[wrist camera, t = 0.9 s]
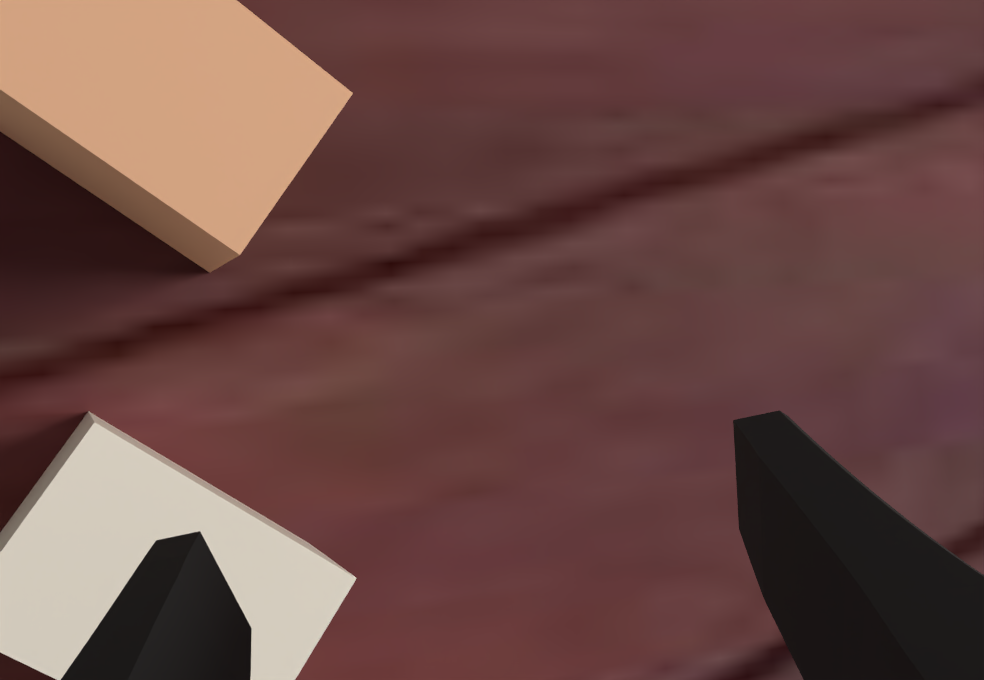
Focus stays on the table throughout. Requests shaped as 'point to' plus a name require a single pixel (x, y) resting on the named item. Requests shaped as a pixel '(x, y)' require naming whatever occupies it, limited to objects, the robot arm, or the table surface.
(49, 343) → the table surface
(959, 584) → the robot arm
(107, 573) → the cream brick
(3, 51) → the tan brick
